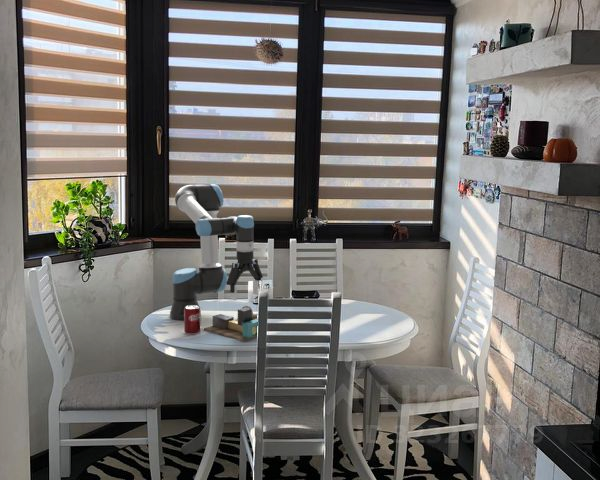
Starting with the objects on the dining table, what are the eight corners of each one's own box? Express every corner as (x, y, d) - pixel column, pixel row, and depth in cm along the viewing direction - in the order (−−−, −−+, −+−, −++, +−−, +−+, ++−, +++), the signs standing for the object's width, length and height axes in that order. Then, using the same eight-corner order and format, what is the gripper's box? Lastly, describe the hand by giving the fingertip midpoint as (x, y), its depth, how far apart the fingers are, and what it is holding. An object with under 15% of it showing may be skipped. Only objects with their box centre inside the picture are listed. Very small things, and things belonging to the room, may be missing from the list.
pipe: (271, 314, 357) (274, 306, 366) (236, 313, 358) (240, 304, 368) (271, 326, 359) (274, 318, 368) (237, 325, 360) (240, 316, 370)
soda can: (181, 332, 342) (180, 307, 340) (193, 329, 347) (192, 304, 345) (191, 335, 337) (191, 309, 335) (203, 332, 342) (203, 306, 341)
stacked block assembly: (208, 327, 347) (208, 313, 345) (224, 323, 354) (224, 309, 353) (248, 338, 330) (247, 324, 329) (263, 333, 337) (263, 319, 336)
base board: (203, 330, 346) (203, 328, 346) (226, 324, 356) (226, 322, 356) (244, 341, 328) (244, 339, 328) (266, 335, 339) (266, 332, 338)
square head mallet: (222, 327, 344) (222, 305, 342) (230, 325, 347) (230, 303, 346) (250, 335, 332) (250, 312, 330) (258, 332, 336) (258, 310, 334)
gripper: (230, 255, 320) (230, 303, 324) (270, 247, 338) (270, 293, 342) (218, 253, 325) (218, 300, 328) (258, 245, 343) (258, 290, 347)
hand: (244, 296), depth 335 cm, fingers open, 13 cm apart
